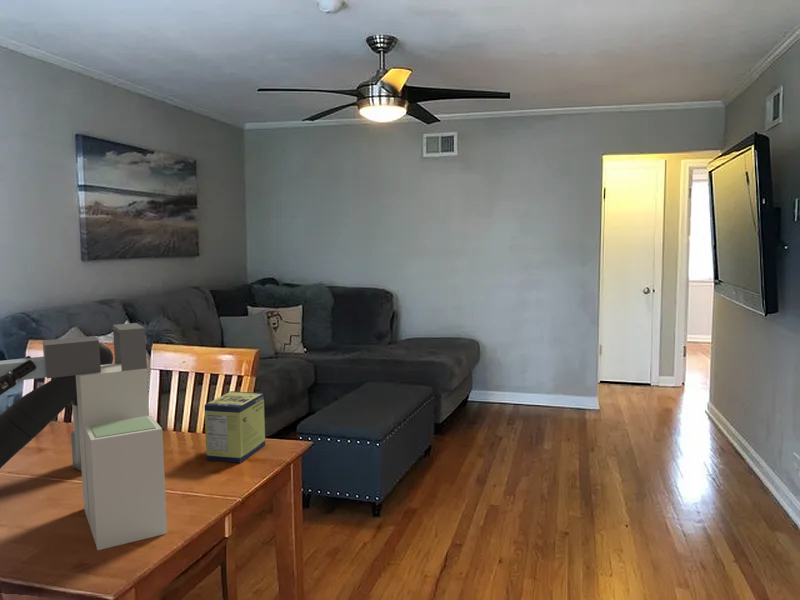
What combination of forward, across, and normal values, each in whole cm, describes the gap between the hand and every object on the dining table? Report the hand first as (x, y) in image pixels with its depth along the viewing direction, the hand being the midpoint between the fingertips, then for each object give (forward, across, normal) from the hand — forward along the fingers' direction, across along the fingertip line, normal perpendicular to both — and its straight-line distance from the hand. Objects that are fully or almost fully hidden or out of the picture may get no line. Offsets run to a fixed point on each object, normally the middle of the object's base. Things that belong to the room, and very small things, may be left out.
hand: (32, 361), depth 132 cm
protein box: (+24, -22, -55) cm, 64 cm away
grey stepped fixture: (-5, +6, -38) cm, 39 cm away
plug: (0, 0, -4) cm, 4 cm away
